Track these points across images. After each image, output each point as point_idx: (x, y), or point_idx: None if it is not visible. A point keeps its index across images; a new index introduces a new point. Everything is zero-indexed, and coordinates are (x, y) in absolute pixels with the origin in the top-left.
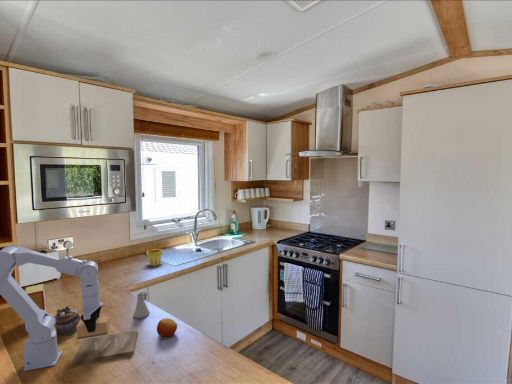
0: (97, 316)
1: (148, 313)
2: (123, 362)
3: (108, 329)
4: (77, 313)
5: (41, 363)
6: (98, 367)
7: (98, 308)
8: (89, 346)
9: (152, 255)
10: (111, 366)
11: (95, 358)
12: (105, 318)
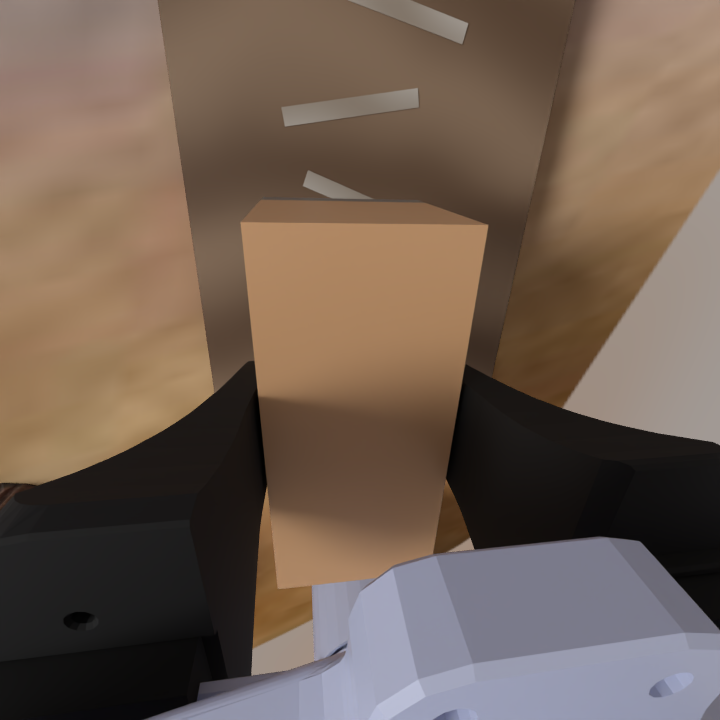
0: (251, 425)
1: None
2: (634, 5)
3: (319, 199)
4: None
5: None
6: (577, 220)
7: (216, 537)
8: None
9: None
10: (623, 118)
11: (515, 260)
12: (332, 267)
